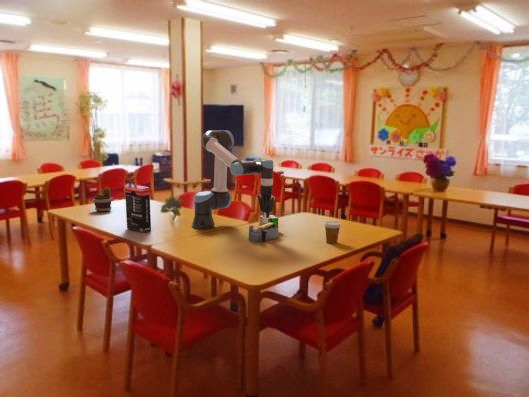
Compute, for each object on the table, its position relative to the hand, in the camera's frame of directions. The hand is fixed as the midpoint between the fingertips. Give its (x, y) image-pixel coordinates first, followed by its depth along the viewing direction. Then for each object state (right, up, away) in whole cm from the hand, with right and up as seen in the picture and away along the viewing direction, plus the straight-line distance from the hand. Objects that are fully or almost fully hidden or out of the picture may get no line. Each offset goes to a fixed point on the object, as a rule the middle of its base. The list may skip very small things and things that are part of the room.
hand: (265, 222), depth 280 cm
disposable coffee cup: (+40, -12, -8) cm, 42 cm away
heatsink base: (-1, -10, 0) cm, 10 cm away
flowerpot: (-126, +5, +72) cm, 146 cm away
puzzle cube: (+2, -7, +16) cm, 18 cm away
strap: (-2, -3, -2) cm, 4 cm away
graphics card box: (-83, -6, +15) cm, 84 cm away
